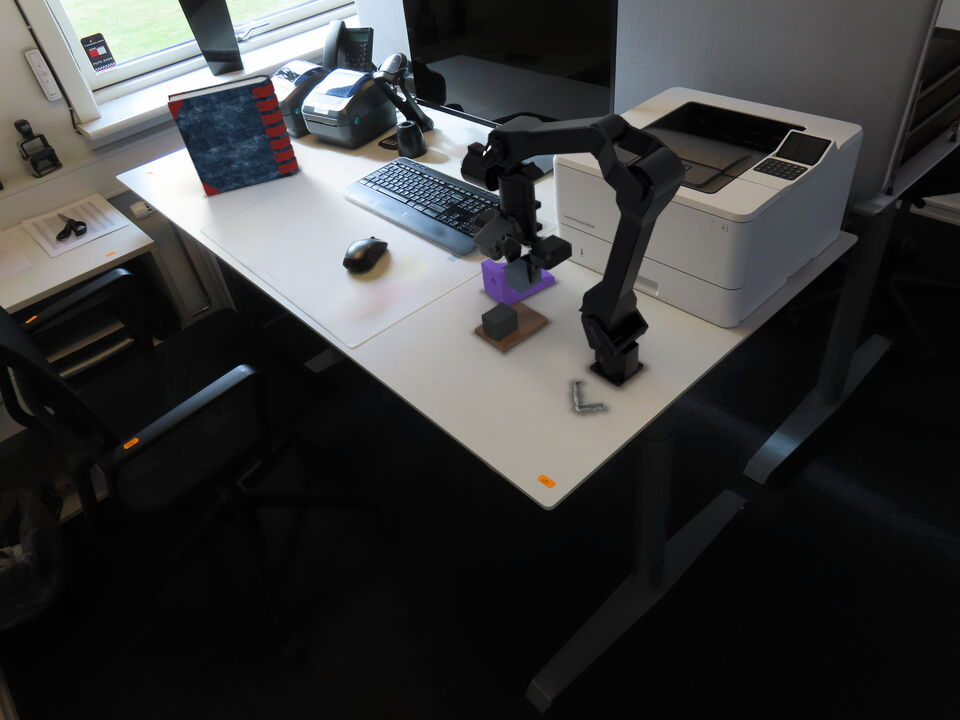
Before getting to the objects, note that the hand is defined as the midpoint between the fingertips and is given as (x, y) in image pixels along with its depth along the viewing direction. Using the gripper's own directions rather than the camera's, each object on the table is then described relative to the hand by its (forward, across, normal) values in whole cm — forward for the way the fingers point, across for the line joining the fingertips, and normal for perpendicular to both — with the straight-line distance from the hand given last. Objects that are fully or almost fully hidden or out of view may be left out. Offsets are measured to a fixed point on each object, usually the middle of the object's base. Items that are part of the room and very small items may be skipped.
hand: (524, 278), depth 118 cm
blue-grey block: (+1, 0, 0) cm, 1 cm away
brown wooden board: (+9, 0, -4) cm, 10 cm away
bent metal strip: (+9, +22, -8) cm, 25 cm away
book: (+9, -98, -8) cm, 99 cm away
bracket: (+9, -8, +6) cm, 14 cm away
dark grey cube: (+8, 0, -6) cm, 10 cm away
